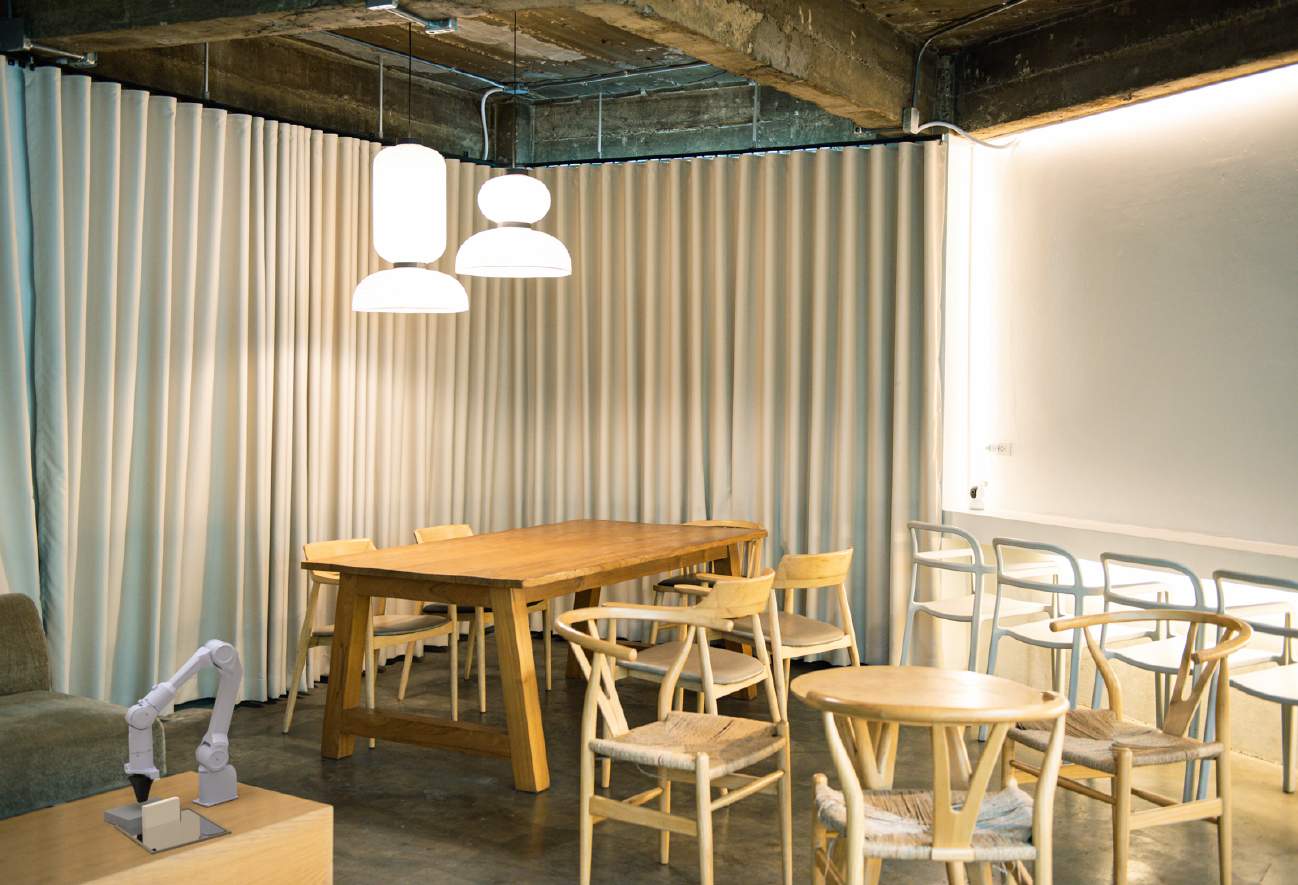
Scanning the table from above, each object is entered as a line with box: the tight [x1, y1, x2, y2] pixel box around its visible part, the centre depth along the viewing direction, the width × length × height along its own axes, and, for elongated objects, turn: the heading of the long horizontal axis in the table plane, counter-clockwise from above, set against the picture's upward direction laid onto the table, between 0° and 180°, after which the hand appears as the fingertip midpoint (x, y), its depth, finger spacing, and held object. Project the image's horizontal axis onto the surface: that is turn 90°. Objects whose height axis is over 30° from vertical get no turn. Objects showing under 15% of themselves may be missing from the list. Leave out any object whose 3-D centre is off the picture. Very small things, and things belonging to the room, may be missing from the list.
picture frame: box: [114, 806, 233, 855], centre depth 271 cm, size 19×1×28 cm
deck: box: [103, 796, 182, 829], centre depth 282 cm, size 14×13×2 cm
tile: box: [142, 796, 181, 829], centre depth 276 cm, size 9×6×2 cm
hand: (142, 801), depth 283 cm, fingers closed
